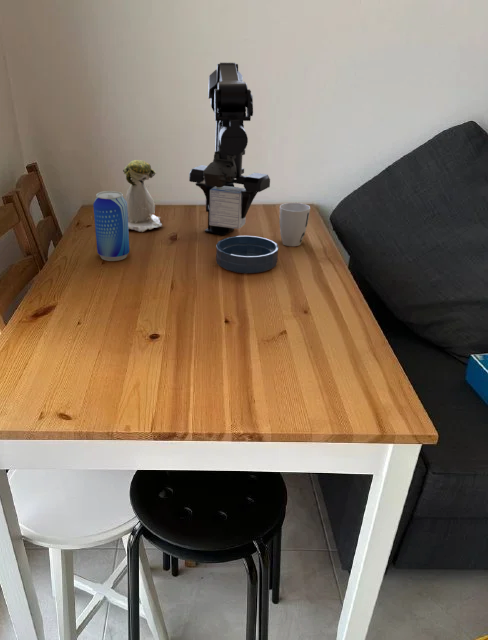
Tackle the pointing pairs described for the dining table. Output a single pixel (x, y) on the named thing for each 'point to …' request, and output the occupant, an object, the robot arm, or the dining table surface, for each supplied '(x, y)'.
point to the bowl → (246, 254)
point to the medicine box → (226, 207)
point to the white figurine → (140, 197)
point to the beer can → (111, 225)
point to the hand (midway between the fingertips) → (227, 215)
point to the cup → (293, 222)
